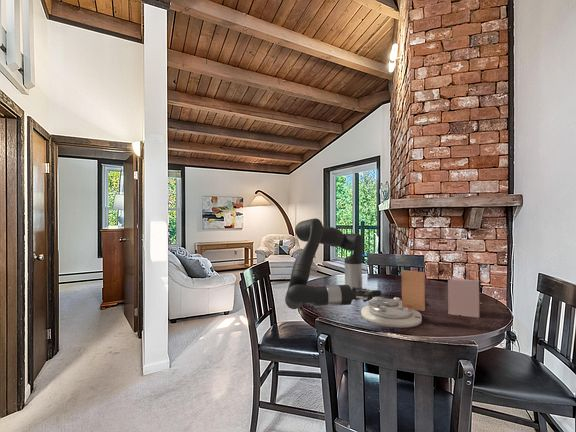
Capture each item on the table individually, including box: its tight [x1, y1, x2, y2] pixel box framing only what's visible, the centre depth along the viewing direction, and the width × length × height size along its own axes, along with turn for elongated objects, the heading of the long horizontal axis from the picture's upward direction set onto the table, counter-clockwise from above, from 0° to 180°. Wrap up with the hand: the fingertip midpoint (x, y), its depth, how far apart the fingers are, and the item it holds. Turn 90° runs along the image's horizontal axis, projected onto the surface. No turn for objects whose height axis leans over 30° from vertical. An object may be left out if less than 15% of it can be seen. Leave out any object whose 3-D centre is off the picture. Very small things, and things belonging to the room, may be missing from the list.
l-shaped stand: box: [367, 269, 426, 319], centre depth 124 cm, size 22×18×18 cm
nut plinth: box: [360, 305, 423, 329], centre depth 125 cm, size 24×24×2 cm
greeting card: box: [447, 276, 480, 319], centre depth 127 cm, size 11×7×15 cm, turn 32°
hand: (380, 293), depth 115 cm, fingers closed
